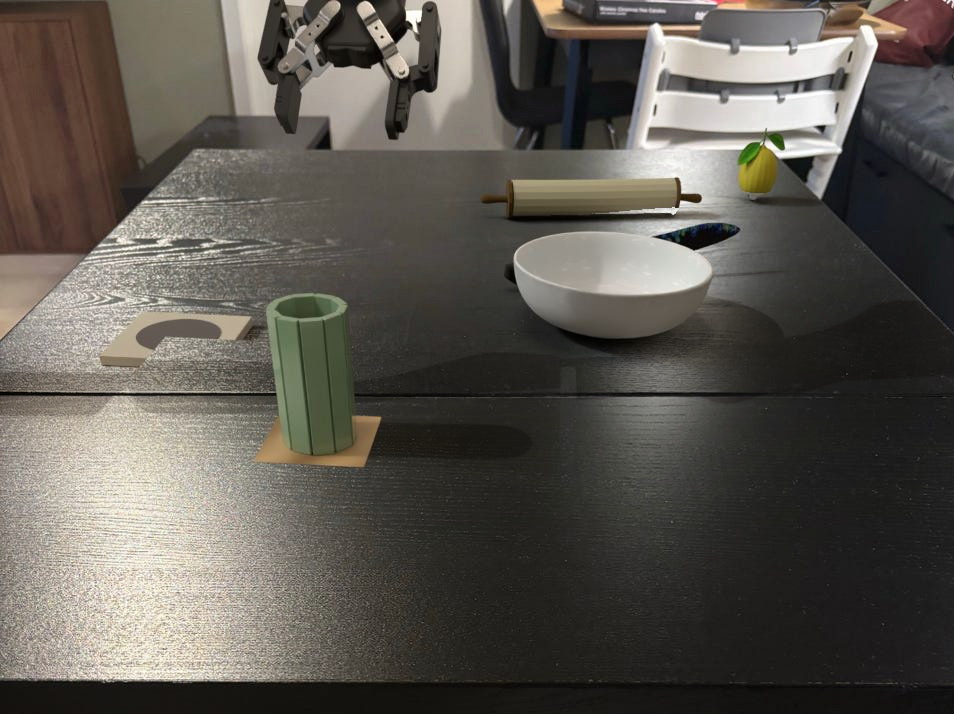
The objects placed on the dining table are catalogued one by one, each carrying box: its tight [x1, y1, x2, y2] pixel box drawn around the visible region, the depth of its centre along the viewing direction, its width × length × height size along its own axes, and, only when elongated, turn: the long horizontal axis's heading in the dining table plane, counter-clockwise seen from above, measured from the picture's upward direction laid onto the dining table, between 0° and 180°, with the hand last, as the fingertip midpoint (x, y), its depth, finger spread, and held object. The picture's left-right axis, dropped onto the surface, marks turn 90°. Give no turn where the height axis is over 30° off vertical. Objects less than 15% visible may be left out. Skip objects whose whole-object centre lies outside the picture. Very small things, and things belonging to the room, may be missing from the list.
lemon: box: [736, 127, 786, 194], centre depth 140 cm, size 7×6×10 cm
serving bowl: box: [513, 231, 715, 340], centre depth 100 cm, size 21×21×7 cm
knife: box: [503, 222, 741, 287], centre depth 112 cm, size 31×3×4 cm, turn 104°
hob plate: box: [98, 311, 254, 368], centre depth 96 cm, size 12×12×1 cm
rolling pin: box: [480, 176, 703, 219], centre depth 134 cm, size 32×6×5 cm, turn 97°
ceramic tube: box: [265, 292, 357, 455], centre depth 75 cm, size 6×6×11 cm
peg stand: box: [253, 414, 382, 468], centre depth 76 cm, size 9×9×10 cm
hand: (339, 130), depth 74 cm, fingers open, 8 cm apart
